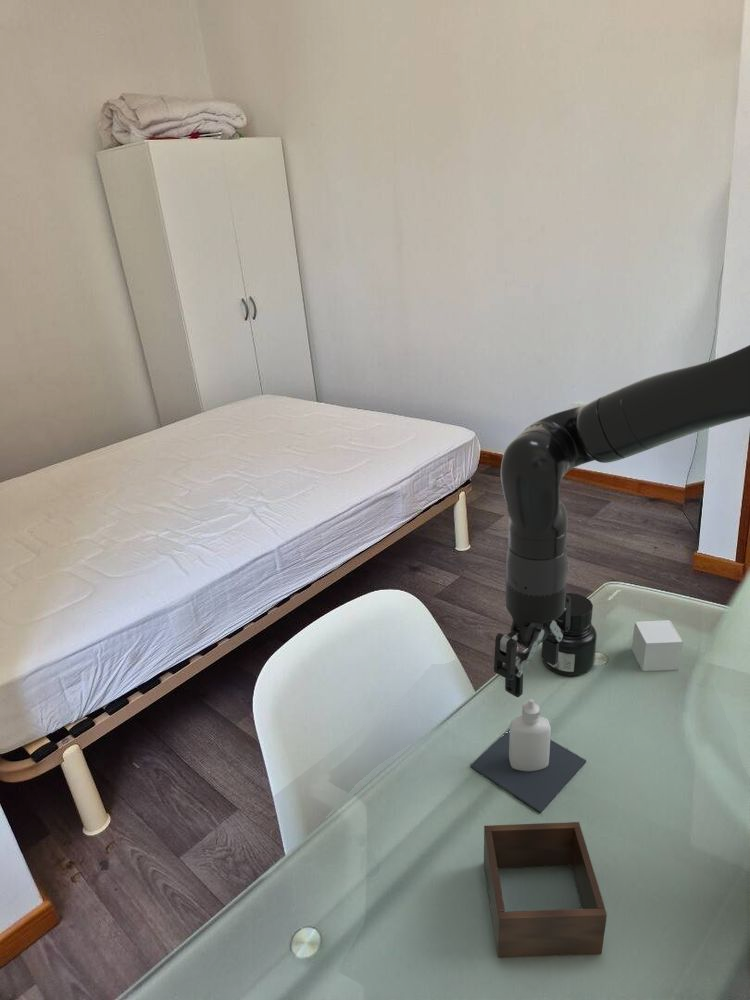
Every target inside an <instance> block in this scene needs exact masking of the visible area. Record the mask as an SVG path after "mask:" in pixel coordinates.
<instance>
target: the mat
mask: <svg viewBox="0 0 750 1000" xmlns="http://www.w3.org/2000/svg"><path fill="white" fill-rule="evenodd" d="M508 729H509V728H508ZM508 729H507V730H508ZM507 730H506V731H505V732H508V733H505V732H504V733H503V734H502V735H504V736H502V735H501V736H502V737H501V736H499V737H498V739H497V740H496V741H494V742H493V743H492V744H491V745H490V746H489V747H488V748H487V749H486V750H485V751H484V752H483V753H482V754H481V755H480V756H478V757H477V759H475V760H474V761H473V763H471V764H470V768H471V769H472V770H474V771H476V772H477V773H478V774H480V775H482V776H483V777H485V778H486V779H488V780H489V781H491V782H492V783H494V784H495V785H496V786H497V787H499V788H501V789H502V790H504V791H506V792H507V793H509V794H510V795H512V796H513V797H514V798H516V799H517V800H519V801H520V802H522V803H523V804H525V805H527V807H530V808H531V809H533V810H534V811H535V812H537V813H538V814H542V812H543V811H544V810H546V808H547V807H548V806H549V805H550V803H551V802H552V801H553V800H554V799H555V798H556V796H558V795H559V793H560V792H561V791H562V790H563V789H564V788H565V787H566V785H567V784H569V782H570V781H571V780H572V779H573V778H574V776H576V774H577V773H579V771H580V770H581V769H582V767H583V766H584V765H585V764H586V763H587V759H585V758H583V757H581V756H580V755H578V754H577V753H574V752H573V751H571V750H570V749H568V748H566V747H564V746H562V745H561V744H559V743H557V742H556V741H554V740H552V739H550V752H549V765H548V766H547V767H546V768H543V769H541V770H537V771H520V770H516V769H514V768H512V767H511V765H510V761H509V737H510V732H509V731H510V729H509V730H508V731H507Z"/></svg>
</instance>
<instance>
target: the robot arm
mask: <svg viewBox="0 0 750 1000" xmlns="http://www.w3.org/2000/svg"><path fill="white" fill-rule="evenodd" d="M749 417H750V344H749V345H746V346H745V347H742V348H740V349H737V350H735V351H733V352H730V353H728V354H726V355H723V356H720V357H717V358H714V359H712V360H709V361H705V362H702V363H699V364H695V365H690V366H686V367H681V368H678V369H674V370H673V369H672V370H670V371H666V372H661V373H658V374H655V375H652V376H648V377H645V378H642V379H639V380H638V381H635V382H632V383H630V384H628V385H626V386H624V387H622V388H621V387H620V388H619V389H616V390H613V391H612V392H609V393H607V394H605V395H602V396H600V397H598V398H596V399H594V400H592V401H590V402H588V403H587V404H585V405H581V406H576V407H572V408H568V409H566V410H561V411H558V412H555V413H553V414H549V415H548V416H546V417H543V418H541V419H539V420H536V421H534V422H533V423H531V424H530V425H528V426H527V427H526V428H525V429H524V430H523V431H522V432H521V433H520V434H518V435H517V436H516V437H515V438H514V439H513V440H512V441H511V442H510V443H509V444H508V445H507V447H506V449H505V450H504V452H503V455H502V458H501V465H500V481H501V488H502V492H503V498H504V502H505V506H506V510H507V513H508V538H507V539H508V540H507V541H508V543H507V553H506V558H505V607H506V610H507V611H508V614H510V616H511V619H512V621H511V622H512V623H511V625H510V630H509V631H508V633H507V634H504V633H501V632H498V633H497V635H496V636H495V640H494V641H495V642H494V660H493V662H494V663H493V664H494V665H493V673H495V674H497V675H499V676H501V677H502V678H504V690H505V692H507V693H508V694H510V695H512V696H514V697H516V698H520V697H521V696H522V695H523V692H524V688H523V687H524V671H525V669H526V666H527V663H528V662H531V661H532V660H533V658H534V655H535V653H536V650H537V648H538V646H539V645H540V644H541V659H542V661H543V660H544V661H546V662H548V663H550V664H552V665H555V664H556V663H557V662H558V653H559V642H560V641H561V640H562V638H563V634H562V633H563V632H564V631H565V632H568V631H569V629H570V613H571V597H570V596H568V595H566V593H567V585H568V584H567V583H568V569H569V568H568V563H569V561H568V552H567V550H568V547H567V546H568V529H569V517H568V511H567V507H566V506H565V505H564V503H562V502H561V500H560V493H561V491H560V490H561V484H562V479H564V477H565V476H566V475H567V473H568V472H569V471H571V470H573V469H574V468H577V467H579V466H582V465H584V464H587V463H590V462H593V461H596V462H598V463H602V464H608V463H612V462H617V461H620V460H623V459H627V458H629V457H633V456H635V455H638V454H640V453H644V452H645V451H649V450H651V449H655V448H656V447H660V446H661V445H664V444H667V443H669V442H673V441H675V440H678V439H681V438H684V437H686V436H689V435H692V434H695V433H698V432H702V431H704V430H707V429H710V428H711V429H712V428H714V427H717V426H720V425H723V424H727V423H731V422H734V421H737V420H741V419H745V418H749ZM559 617H561V618H562V619H563V621H561V620H558V618H559ZM518 644H519V646H521V647H523V648H525V649H526V651H525V652H524V651H522V650H520V649H519V646H518ZM517 657H518V659H519V661H518V663H517ZM544 661H543V662H544Z"/></svg>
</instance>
